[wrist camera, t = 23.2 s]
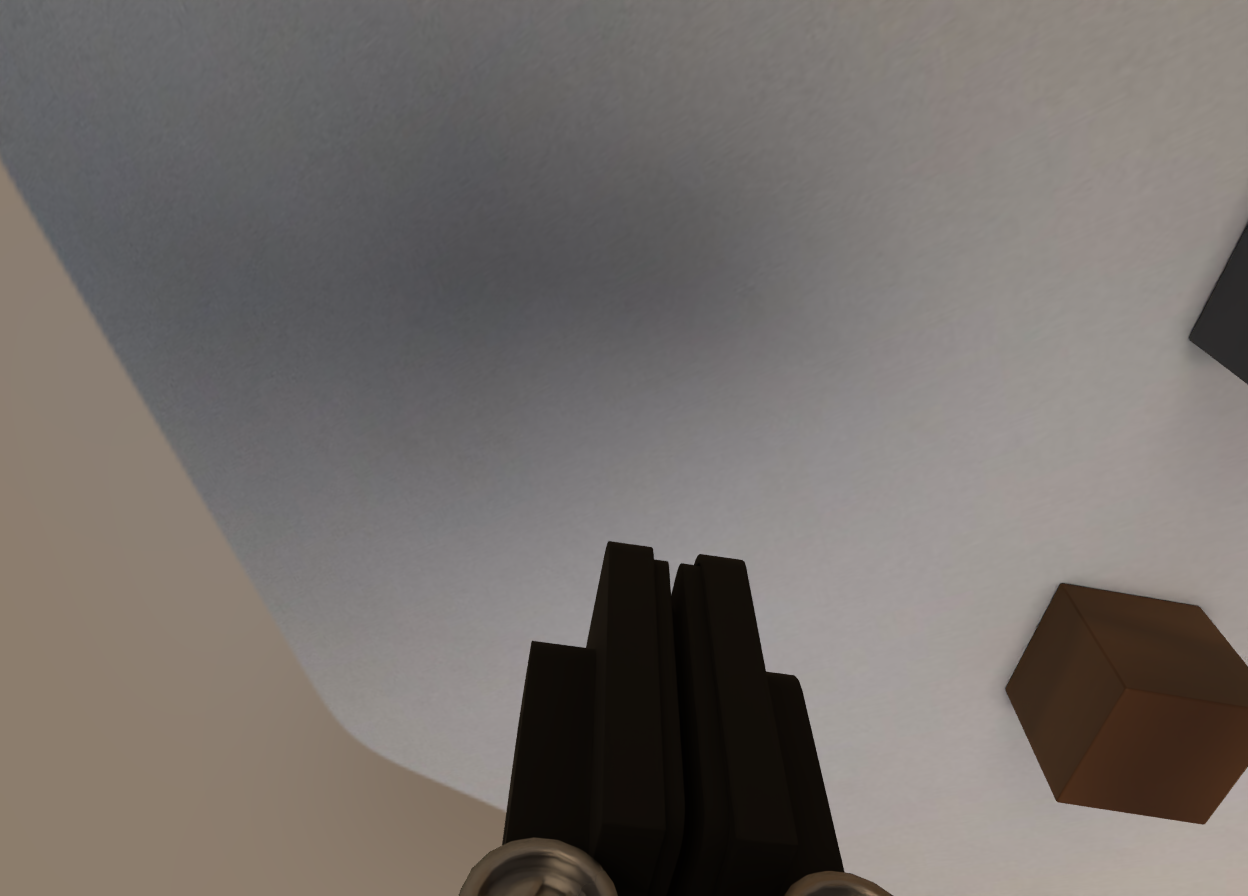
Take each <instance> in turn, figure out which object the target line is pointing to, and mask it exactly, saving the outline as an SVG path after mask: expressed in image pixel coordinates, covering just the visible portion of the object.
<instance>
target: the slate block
mask: <svg viewBox="0 0 1248 896" xmlns="http://www.w3.org/2000/svg"><path fill="white" fill-rule="evenodd" d="M1190 341H1192V342H1193V343H1194V344H1196V345H1197V346H1198V347H1200V348H1201V349H1202V350H1204V351H1205V352H1206V353H1207V354H1209V355H1210V356H1211V357H1213V358H1214V359H1215V360H1217V361H1218V362H1219V363H1221V364H1222V365H1223V366H1224V367H1226V368H1227V369H1228V370H1230V371H1231V372H1232V373H1234V374H1235V375H1236V376H1237V377H1239V378H1240V379H1241V380H1243V381H1244V382H1245V383H1247V384H1248V226H1247V228H1246V230H1245V232H1244V234H1243V236H1242V238H1241V240H1240V242H1239V243H1238V245H1237V247H1236V249H1235V251H1234V253H1233V255H1232V257H1231V259H1230V261H1229V263H1228V265H1227V267H1226V269H1225V270H1224V272H1223V274H1222V276H1221V278H1220V280H1219V282H1218V284H1217V286H1216V288H1215V290H1214V292H1213V294H1212V296H1211V297H1210V299H1209V301H1208V303H1207V305H1206V307H1205V309H1204V311H1203V313H1202V315H1201V317H1200V319H1199V321H1198V323H1197V324H1196V326H1195V328H1194V330H1193V332H1192V334H1191V336H1190Z"/></svg>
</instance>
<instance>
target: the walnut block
mask: <svg viewBox="0 0 1248 896" xmlns="http://www.w3.org/2000/svg"><path fill="white" fill-rule="evenodd" d="M1006 692H1007V695H1008V697H1009V699H1010V701H1011V703H1012V706H1013V708H1014V710H1015V712H1016V714H1017V716H1018V719H1019V721H1020V723H1021V725H1022V727H1023V730H1024V732H1025V734H1026V736H1027V738H1028V741H1029V743H1030V745H1031V747H1032V749H1033V751H1034V754H1035V756H1036V758H1037V760H1038V762H1039V765H1040V767H1041V769H1042V771H1043V773H1044V775H1045V778H1046V780H1047V782H1048V784H1049V786H1050V789H1051V791H1052V793H1053V795H1054V797H1055V799H1056V801H1057V802H1060V803H1066V804H1073V805H1079V806H1086V807H1092V808H1099V809H1105V810H1112V811H1118V812H1125V813H1131V814H1138V815H1144V816H1151V817H1157V818H1164V819H1170V820H1177V821H1183V822H1190V823H1196V824H1205V823H1206V822H1207V821H1208V819H1209V818H1210V817H1211V815H1212V814H1213V813H1214V811H1215V810H1216V809H1217V807H1218V806H1219V805H1220V803H1221V802H1222V801H1223V799H1224V798H1225V797H1226V795H1227V794H1228V793H1229V791H1230V790H1231V789H1232V787H1233V786H1234V785H1235V783H1236V782H1237V780H1238V779H1239V778H1240V776H1241V775H1242V774H1243V772H1244V771H1245V770H1246V768H1247V767H1248V666H1247V665H1246V664H1245V662H1244V661H1243V660H1242V659H1241V657H1240V656H1239V655H1238V654H1237V652H1236V651H1235V650H1234V649H1233V647H1232V646H1231V645H1230V644H1229V642H1228V641H1227V640H1226V639H1225V637H1224V636H1223V635H1222V634H1221V632H1220V631H1219V630H1218V629H1217V627H1216V626H1215V625H1214V624H1213V622H1212V621H1211V620H1210V619H1209V618H1208V616H1207V615H1206V614H1205V613H1204V611H1203V610H1202V609H1201V608H1200V607H1199V606H1194V605H1188V604H1182V603H1176V602H1170V601H1164V600H1158V599H1152V598H1146V597H1140V596H1134V595H1128V594H1122V593H1117V592H1111V591H1105V590H1099V589H1093V588H1087V587H1081V586H1075V585H1069V584H1063V583H1062V584H1060V586H1059V588H1058V589H1057V591H1056V593H1055V595H1054V597H1053V599H1052V601H1051V603H1050V605H1049V607H1048V609H1047V610H1046V612H1045V614H1044V616H1043V618H1042V620H1041V622H1040V624H1039V626H1038V628H1037V630H1036V631H1035V633H1034V635H1033V637H1032V639H1031V641H1030V643H1029V645H1028V647H1027V649H1026V651H1025V652H1024V654H1023V656H1022V658H1021V660H1020V662H1019V664H1018V666H1017V668H1016V670H1015V672H1014V673H1013V675H1012V677H1011V679H1010V681H1009V683H1008V685H1007V687H1006Z"/></svg>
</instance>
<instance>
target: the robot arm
mask: <svg viewBox="0 0 1248 896" xmlns="http://www.w3.org/2000/svg"><path fill="white" fill-rule="evenodd" d="M459 896H893V895H891V894H890V893H888V892H887V891H885V890H884V889H883V888H881V887H880V886H878V885H877V884H875V883H874V882H871V881H869V880H866V879H864V878H861V877H859V876H856V875H853V874H851V873H844V868H843V864H842V860H841V855H840V851H839V847H838V842H837V838H836V834H835V829H834V825H833V821H832V816H831V812H830V808H829V803H828V799H827V795H826V791H825V786H824V782H823V778H822V773H821V769H820V765H819V760H818V756H817V752H816V747H815V743H814V739H813V734H812V730H811V726H810V722H809V717H808V713H807V709H806V704H805V700H804V696H803V691H802V688H801V685H800V682H799V680H798V679H797V678H796V677H795V676H794V675H787V674H780V673H772V672H766V670H765V664H764V659H763V654H762V649H761V643H760V638H759V633H758V627H757V622H756V617H755V611H754V606H753V601H752V596H751V590H750V585H749V580H748V574H747V569H746V565H745V562H744V561H743V560H738V559H731V558H724V557H717V556H710V555H703V554H699V555H698V556H697V558H696V560H695V563H694V565H689V564H682V563H681V564H680V566H679V568H678V571H677V574H676V578H675V582H674V586H673V590H672V594H671V589H670V574H669V563H668V562H667V561H661V560H654V554H653V548H652V547H646V546H639V545H632V544H625V543H618V542H611V541H609V542H608V543H607V547H606V551H605V555H604V560H603V565H602V570H601V575H600V580H599V585H598V590H597V595H596V600H595V605H594V610H593V615H592V620H591V625H590V630H589V635H588V640H587V645H586V648H582V647H575V646H567V645H559V644H552V643H544V642H537V641H532V643H531V648H530V654H529V660H528V667H527V673H526V679H525V685H524V692H523V698H522V705H521V712H520V718H519V725H518V732H517V739H516V746H515V753H514V761H513V768H512V775H511V783H510V790H509V798H508V805H507V813H506V821H505V828H504V835H503V843H502V846H500V847H498V848H496V849H495V850H492V851H490V852H489V853H488V854H487V855H486V856H485V857H484V858H482V860H480V861H479V862H478V863H477V864H476V865H475V866H474V867H473V868H472V869H471V871H470V873H469V875H468V877H467V879H466V881H465V882H464V884H463V886H462V888H461V890H460V894H459Z"/></svg>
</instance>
